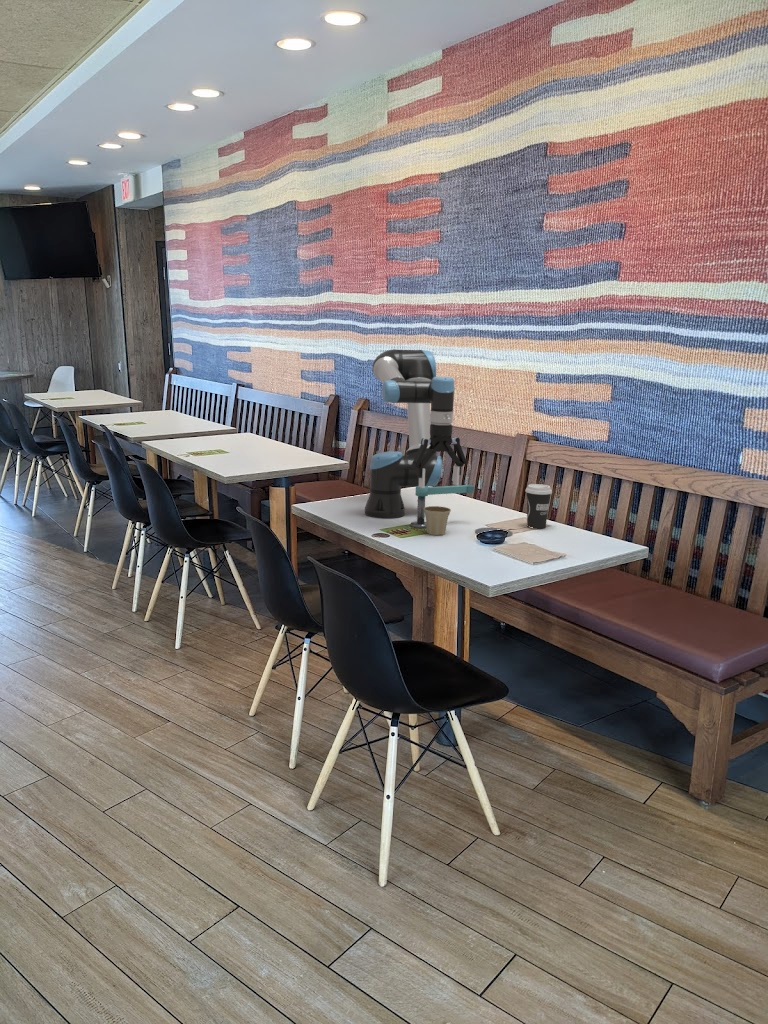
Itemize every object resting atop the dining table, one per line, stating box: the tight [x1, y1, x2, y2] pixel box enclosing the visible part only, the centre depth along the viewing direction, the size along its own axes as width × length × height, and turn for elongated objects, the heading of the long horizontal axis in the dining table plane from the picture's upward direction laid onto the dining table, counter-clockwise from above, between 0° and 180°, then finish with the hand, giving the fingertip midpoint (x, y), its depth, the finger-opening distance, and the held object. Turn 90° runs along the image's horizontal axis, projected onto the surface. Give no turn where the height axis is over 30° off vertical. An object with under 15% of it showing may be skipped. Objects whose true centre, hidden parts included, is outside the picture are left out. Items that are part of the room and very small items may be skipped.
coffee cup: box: [525, 483, 553, 530], centre depth 297 cm, size 10×10×15 cm
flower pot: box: [424, 505, 452, 536], centre depth 285 cm, size 9×9×9 cm
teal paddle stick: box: [414, 484, 475, 497], centre depth 296 cm, size 22×4×3 cm, turn 112°
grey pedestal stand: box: [410, 496, 427, 530], centre depth 294 cm, size 7×7×11 cm
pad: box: [474, 527, 513, 538], centre depth 288 cm, size 13×13×1 cm
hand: (438, 486), depth 282 cm, fingers open, 13 cm apart
